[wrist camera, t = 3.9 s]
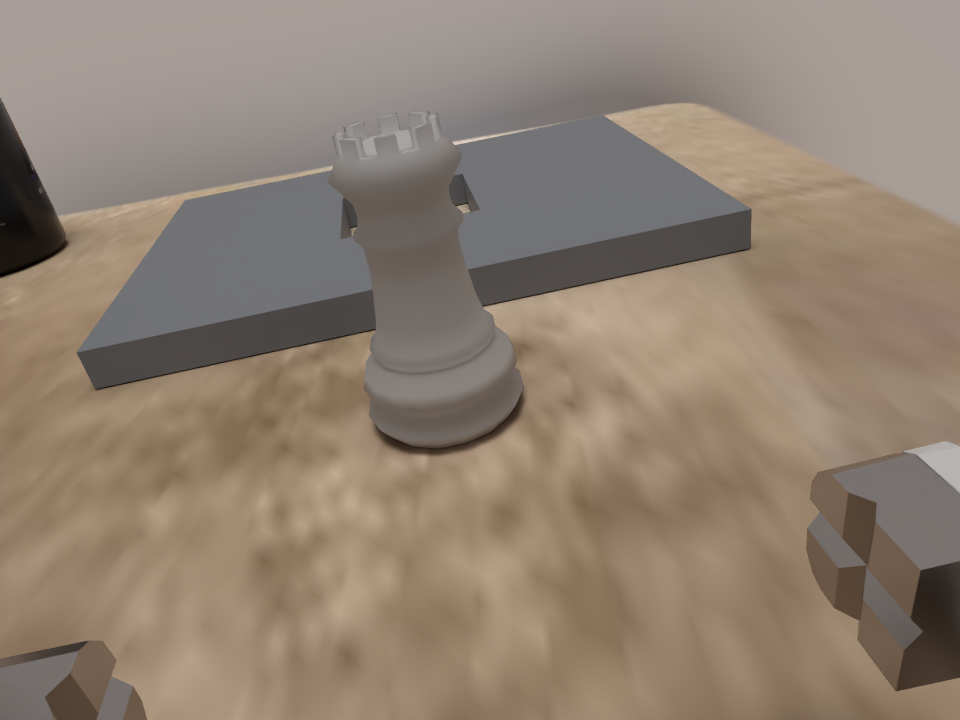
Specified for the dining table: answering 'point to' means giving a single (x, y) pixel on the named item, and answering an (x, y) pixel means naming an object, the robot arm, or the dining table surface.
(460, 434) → the rook chess piece
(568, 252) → the socket board
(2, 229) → the supplement bottle
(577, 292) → the dining table surface
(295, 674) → the dining table surface
